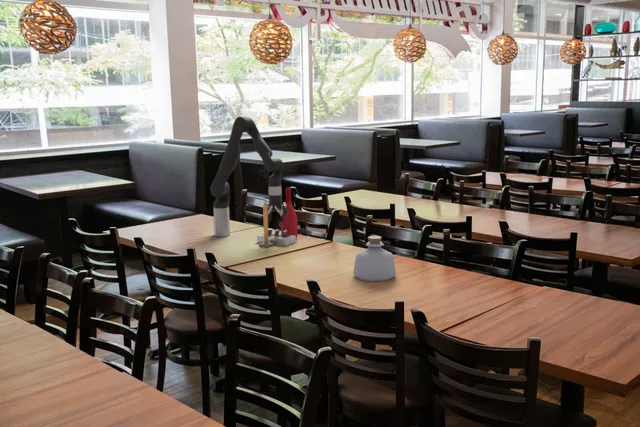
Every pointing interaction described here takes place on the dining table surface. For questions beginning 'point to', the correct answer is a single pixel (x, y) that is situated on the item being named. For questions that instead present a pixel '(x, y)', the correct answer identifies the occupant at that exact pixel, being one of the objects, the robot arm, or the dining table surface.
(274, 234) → the middle paddle
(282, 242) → the breaker panel
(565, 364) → the dining table surface
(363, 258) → the bottle
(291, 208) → the wine bottle
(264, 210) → the orange post
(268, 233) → the paddle
